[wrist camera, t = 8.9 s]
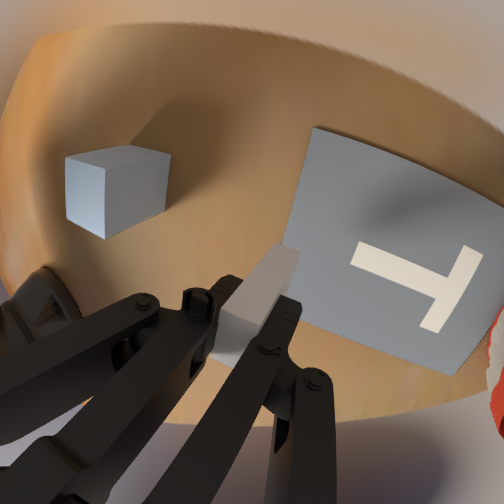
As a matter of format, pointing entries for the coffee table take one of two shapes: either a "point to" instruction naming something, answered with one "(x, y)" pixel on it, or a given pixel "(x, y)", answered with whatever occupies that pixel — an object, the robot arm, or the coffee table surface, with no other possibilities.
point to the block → (115, 188)
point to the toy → (496, 370)
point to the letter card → (394, 253)
